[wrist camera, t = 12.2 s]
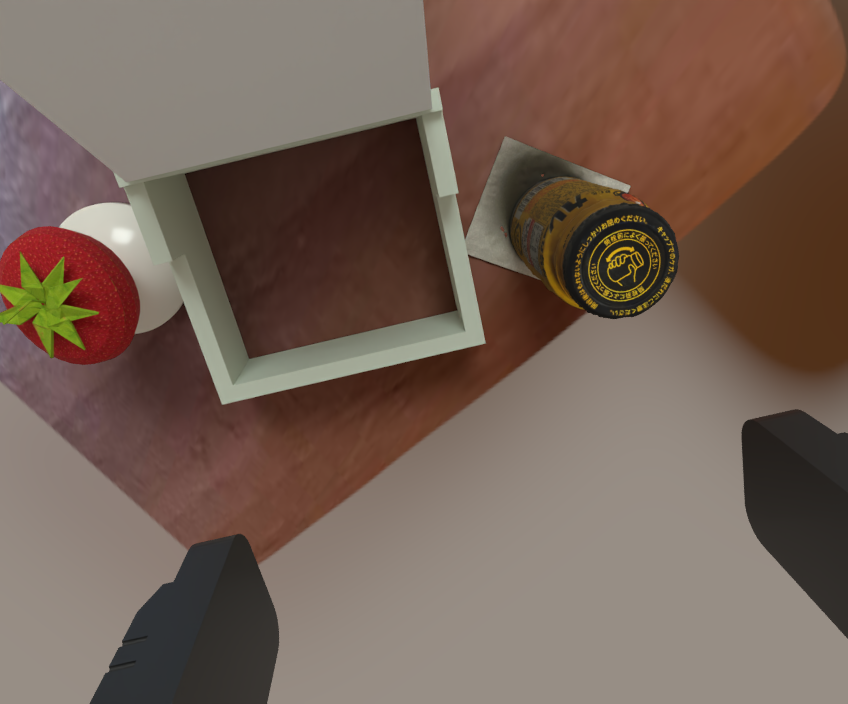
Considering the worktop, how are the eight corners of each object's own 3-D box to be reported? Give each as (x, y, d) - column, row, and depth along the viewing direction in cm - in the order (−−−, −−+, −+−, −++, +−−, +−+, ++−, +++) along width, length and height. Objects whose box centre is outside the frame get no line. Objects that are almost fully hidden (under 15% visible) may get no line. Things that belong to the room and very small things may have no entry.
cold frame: (123, 52, 34) (-129, -25, 17) (405, -18, 33) (423, -164, 17) (239, 376, 41) (137, 544, 24) (475, 321, 40) (537, 453, 24)
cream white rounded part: (33, 219, 37) (26, 221, 36) (162, 188, 36) (158, 189, 36) (88, 342, 39) (82, 347, 38) (208, 314, 39) (205, 317, 38)
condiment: (580, 294, 40) (656, 357, 29) (460, 251, 39) (490, 300, 27) (629, 185, 38) (732, 208, 27) (504, 136, 37) (556, 137, 25)
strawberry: (109, 350, 39) (20, 416, 29) (34, 241, 36) (-90, 275, 27) (191, 309, 38) (127, 363, 29) (120, 196, 36) (24, 214, 26)
